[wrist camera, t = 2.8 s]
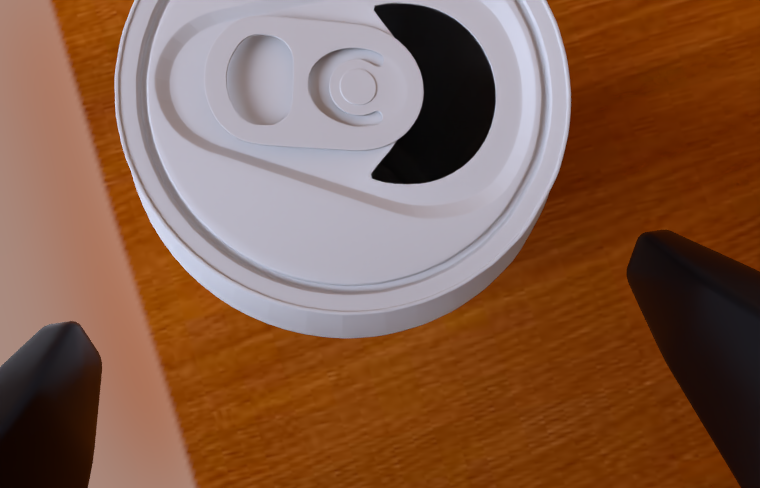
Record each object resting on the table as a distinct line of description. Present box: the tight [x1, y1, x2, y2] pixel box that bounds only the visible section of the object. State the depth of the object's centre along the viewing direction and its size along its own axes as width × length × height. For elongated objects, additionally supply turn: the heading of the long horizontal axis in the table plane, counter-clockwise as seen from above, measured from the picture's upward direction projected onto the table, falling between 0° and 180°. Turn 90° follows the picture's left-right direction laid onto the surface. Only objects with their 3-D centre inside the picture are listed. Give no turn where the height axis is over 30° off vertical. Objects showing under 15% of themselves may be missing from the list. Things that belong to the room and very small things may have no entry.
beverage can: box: [115, 0, 571, 338], centre depth 12 cm, size 6×6×12 cm
